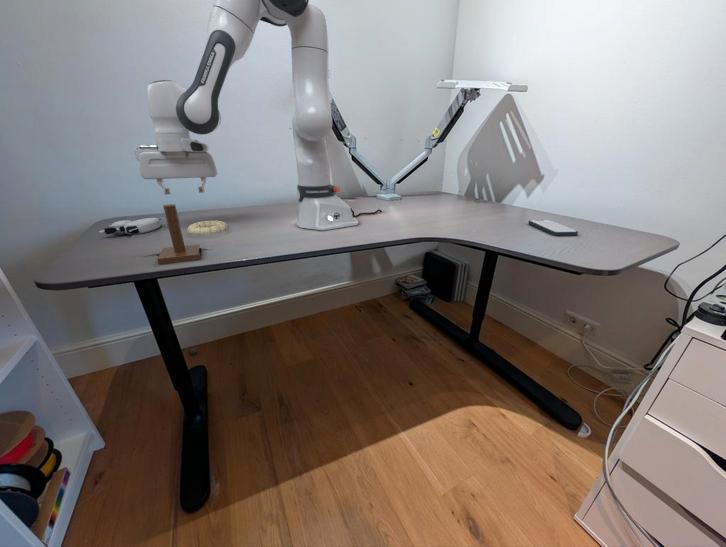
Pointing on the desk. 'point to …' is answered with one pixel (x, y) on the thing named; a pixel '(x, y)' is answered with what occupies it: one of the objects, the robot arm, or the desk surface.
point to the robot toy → (133, 226)
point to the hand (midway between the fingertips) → (185, 193)
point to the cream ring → (216, 227)
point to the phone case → (553, 228)
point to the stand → (177, 241)
